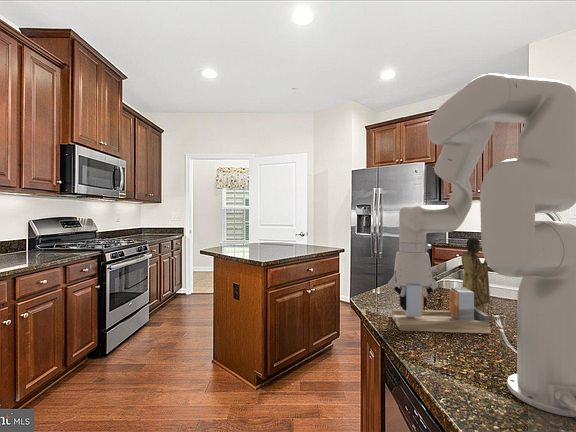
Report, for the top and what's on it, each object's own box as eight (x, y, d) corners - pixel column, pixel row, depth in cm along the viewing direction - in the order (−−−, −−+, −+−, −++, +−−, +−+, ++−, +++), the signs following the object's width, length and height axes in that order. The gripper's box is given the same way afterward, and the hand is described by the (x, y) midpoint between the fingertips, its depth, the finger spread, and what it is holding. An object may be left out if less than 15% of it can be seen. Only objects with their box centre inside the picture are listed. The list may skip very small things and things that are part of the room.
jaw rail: (490, 333, 88) (490, 295, 88) (400, 330, 91) (400, 293, 91) (470, 319, 100) (470, 285, 100) (391, 316, 103) (391, 284, 103)
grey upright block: (423, 317, 93) (423, 285, 93) (407, 316, 93) (407, 285, 93) (417, 310, 99) (417, 281, 99) (402, 310, 99) (402, 281, 99)
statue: (493, 318, 100) (493, 238, 100) (460, 313, 105) (460, 237, 105) (493, 311, 108) (493, 236, 108) (462, 307, 113) (462, 235, 113)
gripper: (437, 247, 99) (438, 306, 99) (381, 246, 101) (381, 304, 101) (447, 249, 91) (447, 313, 91) (385, 249, 93) (386, 312, 93)
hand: (412, 308), depth 96 cm, fingers closed on grey upright block, 4 cm apart
